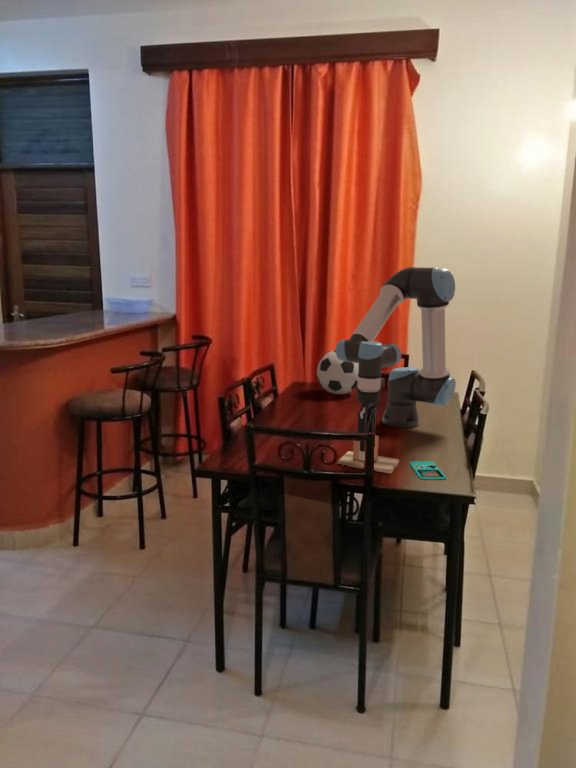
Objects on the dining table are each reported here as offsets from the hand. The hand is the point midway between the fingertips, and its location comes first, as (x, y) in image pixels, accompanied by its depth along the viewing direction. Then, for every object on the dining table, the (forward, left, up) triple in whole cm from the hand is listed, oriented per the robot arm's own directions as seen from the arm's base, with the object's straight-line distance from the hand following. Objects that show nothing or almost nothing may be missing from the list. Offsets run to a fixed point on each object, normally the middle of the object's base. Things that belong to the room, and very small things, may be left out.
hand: (365, 457), depth 193 cm
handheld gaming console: (-2, +20, -3) cm, 21 cm away
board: (0, +1, -2) cm, 2 cm away
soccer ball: (-87, -41, -2) cm, 97 cm away
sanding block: (0, 0, -1) cm, 1 cm away
